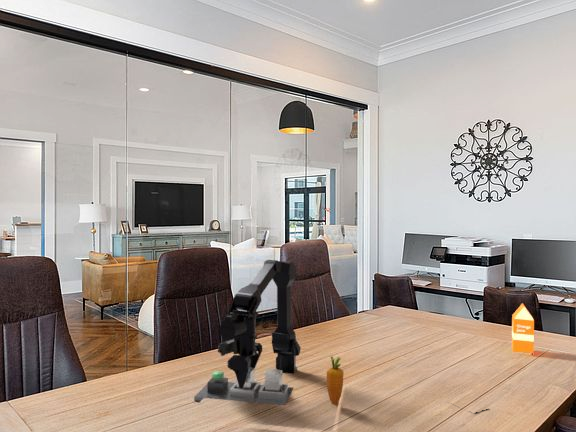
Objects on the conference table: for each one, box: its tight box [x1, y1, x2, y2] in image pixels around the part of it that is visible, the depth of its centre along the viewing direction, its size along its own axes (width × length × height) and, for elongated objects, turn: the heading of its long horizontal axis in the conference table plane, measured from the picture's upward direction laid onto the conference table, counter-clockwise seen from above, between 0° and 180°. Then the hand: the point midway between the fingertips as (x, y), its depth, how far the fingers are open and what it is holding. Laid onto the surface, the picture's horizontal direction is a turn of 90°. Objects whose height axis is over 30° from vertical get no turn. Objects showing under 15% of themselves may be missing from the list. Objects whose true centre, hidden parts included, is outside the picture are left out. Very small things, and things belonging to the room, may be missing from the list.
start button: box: [211, 370, 225, 380], centre depth 149 cm, size 4×4×2 cm
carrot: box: [326, 355, 345, 405], centre depth 140 cm, size 5×5×15 cm
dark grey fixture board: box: [193, 377, 294, 406], centre depth 147 cm, size 28×14×4 cm, turn 79°
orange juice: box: [511, 302, 535, 354], centre depth 198 cm, size 8×9×20 cm
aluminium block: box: [236, 368, 255, 390], centre depth 147 cm, size 4×4×7 cm
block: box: [264, 368, 283, 392], centre depth 145 cm, size 4×4×7 cm
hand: (245, 382), depth 147 cm, fingers open, 9 cm apart
